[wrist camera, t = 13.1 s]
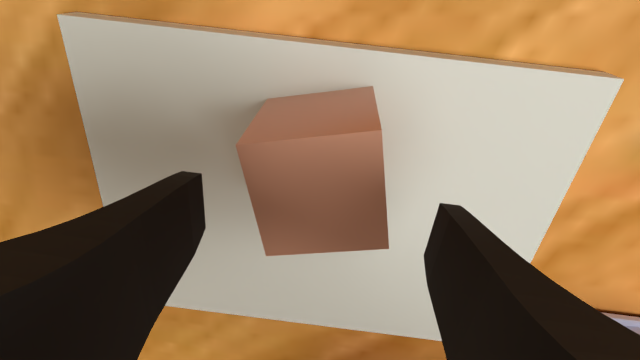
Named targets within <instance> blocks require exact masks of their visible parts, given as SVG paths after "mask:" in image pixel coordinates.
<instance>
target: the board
mask: <svg viewBox="0 0 640 360" xmlns="http://www.w3.org/2000/svg"><path fill="white" fill-rule="evenodd" d="M57 17H58V21H59V25H60V29H61V33H62V37H63V42H64V46H65V50H66V54H67V58H68V62H69V66H70V70H71V75H72V79H73V83H74V87H75V91H76V95H77V99H78V104H79V108H80V112H81V116H82V120H83V124H84V128H85V133H86V137H87V141H88V145H89V149H90V153H91V157H92V162H93V166H94V170H95V174H96V178H97V182H98V186H99V190H100V195H101V199H102V203H103V207H104V206H107V205H109V204H111V203H113V202H116V201H118V200H120V199H123V198H125V197H127V196H129V195H131V194H133V193H135V192H137V191H139V190H141V189H144V188H146V187H148V186H150V185H152V184H154V183H156V182H158V181H160V180H162V179H164V178H166V177H169V176H171V175H173V174H175V173H178V172H181V171H186V172H194V173H202V183H203V197H204V211H205V224H206V229H205V231H204V234H203V236H202V239H201V241H200V244H199V246H198V248H197V251H196V253H195V255H194V257H193V259H192V261H191V262H190V264H189V266H188V267H187V269H186V271H185V272H184V274H183V276H182V278H181V279H180V281H179V283H178V284H177V286H176V288H175V289H174V291H173V293H172V294H171V296H170V298H169V299H168V301H167V303H166V304H165V306H171V307H179V308H186V309H194V310H202V311H210V312H218V313H226V314H233V315H241V316H249V317H257V318H265V319H272V320H280V321H288V322H296V323H304V324H312V325H319V326H327V327H335V328H343V329H351V330H358V331H366V332H374V333H382V334H390V335H398V336H405V337H413V338H421V339H429V340H437V341H442V339H441V335H440V332H439V328H438V324H437V321H436V317H435V313H434V310H433V306H432V302H431V298H430V295H429V291H428V287H427V281H426V273H425V265H424V252H425V249H426V246H427V243H428V239H429V236H430V233H431V230H432V227H433V223H434V220H435V217H436V214H437V210H438V207H439V204H440V203H445V204H453V205H460V206H462V207H463V208H465V209H466V210H467V211H468V212H470V213H471V214H472V215H473V216H474V217H475V218H477V219H478V220H479V221H480V222H481V223H482V224H483V225H485V226H486V227H487V228H488V229H489V230H490V231H491V232H493V233H494V234H495V235H496V236H497V237H498V238H499V239H501V240H502V241H503V242H504V243H505V244H506V245H508V246H509V247H510V248H511V249H512V250H514V251H515V252H516V253H517V254H519V255H520V256H521V257H522V258H523V259H525V260H526V261H527V262H529V263H531V261H532V259H533V257H534V255H535V253H536V251H537V249H538V247H539V245H540V243H541V241H542V239H543V237H544V235H545V233H546V231H547V229H548V227H549V225H550V224H551V222H552V220H553V218H554V216H555V214H556V212H557V210H558V208H559V206H560V204H561V202H562V200H563V198H564V196H565V194H566V192H567V190H568V188H569V186H570V184H571V182H572V180H573V178H574V176H575V175H576V173H577V171H578V169H579V167H580V165H581V163H582V161H583V159H584V157H585V155H586V153H587V151H588V149H589V147H590V145H591V143H592V141H593V139H594V137H595V135H596V133H597V131H598V129H599V127H600V126H601V124H602V122H603V120H604V118H605V116H606V114H607V112H608V110H609V108H610V106H611V104H612V102H613V100H614V98H615V96H616V94H617V92H618V90H619V88H620V86H621V84H622V82H623V80H624V79H622V78H620V77H617V76H614V75H612V74H609V73H606V72H600V71H592V70H583V69H574V68H565V67H557V66H548V65H539V64H530V63H522V62H513V61H504V60H495V59H486V58H478V57H469V56H460V55H451V54H443V53H434V52H425V51H416V50H408V49H399V48H390V47H381V46H372V45H364V44H355V43H346V42H337V41H329V40H320V39H311V38H302V37H294V36H285V35H276V34H267V33H258V32H250V31H241V30H232V29H223V28H215V27H206V26H197V25H188V24H180V23H171V22H162V21H153V20H144V19H136V18H127V17H118V16H109V15H101V14H92V13H83V12H72V13H64V14H57ZM370 86H373V89H374V94H375V99H376V104H377V109H378V114H379V119H380V124H381V129H382V142H383V158H384V174H385V190H386V206H387V222H388V238H389V249H379V250H363V251H346V252H329V253H313V254H296V255H279V256H266V255H265V251H264V247H263V244H262V240H261V236H260V233H259V229H258V225H257V222H256V218H255V214H254V211H253V207H252V203H251V200H250V196H249V193H248V189H247V185H246V182H245V178H244V174H243V171H242V167H241V163H240V160H239V156H238V152H237V149H236V144H237V142H238V141H239V139H240V138H241V136H242V135H243V133H244V132H245V130H246V129H247V128H248V126H249V125H250V123H251V122H252V120H253V119H254V117H255V116H256V114H257V113H258V112H259V110H260V109H261V107H262V106H263V104H264V103H265V101H266V100H267V99H270V98H278V97H286V96H295V95H303V94H311V93H320V92H328V91H336V90H345V89H353V88H362V87H370Z"/></svg>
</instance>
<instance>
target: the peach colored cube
mask: <svg viewBox="0 0 640 360" xmlns="http://www.w3.org/2000/svg"><path fill="white" fill-rule="evenodd" d="M236 149H237V152H238V156H239V160H240V163H241V167H242V171H243V174H244V178H245V182H246V185H247V189H248V193H249V196H250V200H251V203H252V207H253V211H254V214H255V218H256V222H257V225H258V229H259V233H260V236H261V240H262V244H263V247H264V251H265V255H266V256H279V255H296V254H313V253H329V252H346V251H363V250H379V249H389V238H388V222H387V206H386V190H385V174H384V158H383V142H382V129H381V124H380V119H379V114H378V109H377V104H376V99H375V94H374V89H373V86H370V87H362V88H353V89H345V90H336V91H328V92H320V93H311V94H303V95H295V96H286V97H278V98H270V99H267V100H266V101H265V103H264V104H263V106H262V107H261V109H260V110H259V112H258V113H257V114H256V116H255V117H254V119H253V120H252V122H251V123H250V125H249V126H248V128H247V129H246V130H245V132H244V133H243V135H242V136H241V138H240V139H239V141H238V142H237V144H236Z"/></svg>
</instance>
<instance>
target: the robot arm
mask: <svg viewBox="0 0 640 360" xmlns="http://www.w3.org/2000/svg"><path fill="white" fill-rule="evenodd" d="M205 229H206V224H205V211H204V197H203V183H202V173H194V172H186V171H181V172H178V173H175V174H173V175H171V176H169V177H166V178H164V179H162V180H160V181H158V182H156V183H154V184H152V185H150V186H148V187H146V188H144V189H141V190H139V191H137V192H135V193H133V194H131V195H129V196H127V197H125V198H123V199H120V200H118V201H116V202H113V203H111V204H109V205H107V206H104V207H102V208H100V209H97V210H95V211H93V212H91V213H88V214H86V215H83V216H81V217H78V218H75V219H73V220H70V221H67V222H64V223H62V224H59V225H56V226H53V227H50V228H47V229H44V230H41V231H38V232H35V233H31V234H28V235H24V236H21V237H17V238H14V239H10V240H7V241H3V242H0V360H137V359H138V357H139V354H140V352H141V350H142V348H143V346H144V344H145V341H146V339H147V337H148V335H149V333H150V331H151V329H152V327H153V325H154V323H155V322H156V320H157V318H158V316H159V314H160V313H161V311H162V309H163V308H164V306H165V304H166V303H167V301H168V299H169V298H170V296H171V294H172V293H173V291H174V289H175V288H176V286H177V284H178V283H179V281H180V279H181V278H182V276H183V274H184V272H185V271H186V269H187V267H188V266H189V264H190V262H191V261H192V259H193V257H194V255H195V253H196V251H197V248H198V246H199V244H200V241H201V239H202V236H203V234H204V231H205ZM424 265H425V273H426V281H427V287H428V291H429V295H430V298H431V302H432V306H433V310H434V313H435V317H436V321H437V324H438V328H439V332H440V335H441V339H442V343H443V346H444V350H445V354H446V358H447V360H640V317H634V316H626V315H618V314H610V313H602V312H599V311H598V310H596V309H595V308H593V307H591V306H590V305H588V304H587V303H585V302H583V301H582V300H580V299H579V298H577V297H576V296H574V295H573V294H571V293H570V292H568V291H567V290H566V289H564V288H563V287H561V286H560V285H558V284H557V283H555V282H554V281H552V280H551V279H550V278H548V277H547V276H545V275H544V274H543V273H541V272H540V271H539V270H538V269H536V268H535V267H534V266H532V265H531V264H530V263H529V262H527V261H526V260H525V259H523V258H522V257H521V256H520V255H519V254H517V253H516V252H515V251H514V250H512V249H511V248H510V247H509V246H508V245H506V244H505V243H504V242H503V241H502V240H501V239H499V238H498V237H497V236H496V235H495V234H494V233H493V232H491V231H490V230H489V229H488V228H487V227H486V226H485V225H483V224H482V223H481V222H480V221H479V220H478V219H477V218H475V217H474V216H473V215H472V214H471V213H470V212H468V211H467V210H466V209H465V208H463V207H462V206H460V205H453V204H445V203H440V204H439V207H438V210H437V214H436V217H435V220H434V223H433V227H432V230H431V233H430V236H429V239H428V243H427V246H426V249H425V252H424Z"/></svg>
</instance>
